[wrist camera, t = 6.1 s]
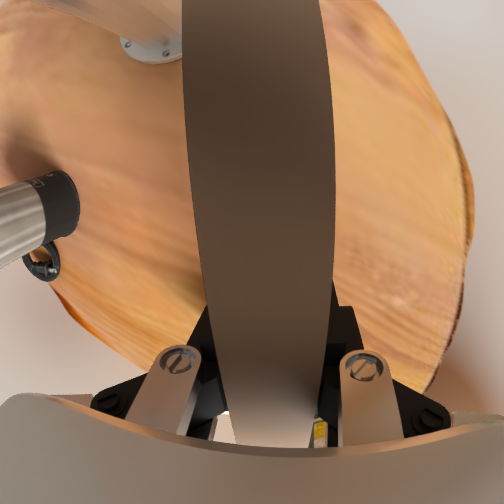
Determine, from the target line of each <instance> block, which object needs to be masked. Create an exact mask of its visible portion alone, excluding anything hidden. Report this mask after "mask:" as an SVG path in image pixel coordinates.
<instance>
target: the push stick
mask: <svg viewBox="0 0 504 504" xmlns="http://www.w3.org/2000/svg"><path fill="white" fill-rule="evenodd" d="M182 70H183V93H184V110H185V125H186V138H187V151H188V162H189V172H190V182H191V191H192V200H193V209H194V217H195V225H196V233H197V240H198V248H199V255H200V262H201V268H202V275H203V281H204V288H205V294H206V300H207V306H208V312H209V317H210V323H211V328H212V334H213V339H214V344H215V349H216V355H217V360H218V365H219V369H220V374H221V379H222V384H223V388H224V393H225V397H226V402H227V406H228V410H229V415H230V419H231V423H232V427H233V431H234V435H235V439H236V443H237V444H239V445H249V446H261V447H279V448H314V417H315V412H316V407H317V401H318V395H319V389H320V383H321V377H322V370H323V363H324V356H325V349H326V341H327V332H328V323H329V314H330V303H331V291H332V278H333V262H334V242H335V201H336V182H335V142H334V122H333V107H332V95H331V84H330V74H329V65H328V57H327V49H326V42H325V35H324V29H323V23H322V17H321V11H320V6H319V1H318V0H182Z"/></svg>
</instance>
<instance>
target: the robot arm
mask: <svg viewBox="0 0 504 504" xmlns="http://www.w3.org/2000/svg"><path fill="white" fill-rule="evenodd" d="M25 1H29V2H32V3H36V4H40V5H43V6H46V7H49V8H52V9H55V10H58V11H61V12H64V13H67V14H69V15H72V16H75V17H77V18H80V19H82V20H85V21H87V22H90V23H92V24H95V25H97V26H99V27H101V28H104V29H106V30H108V31H110V32H112V33H115V34H117V35H119V39H120V44H121V46H122V48H123V50H124V51H125V52H126V53H127V54H128V55H129V56H130V57H132V58H134V59H135V60H138V61H140V62H143V63H148V64H163V63H168V62H173V61H175V60H178V59H181V58H182V0H25ZM168 55H169V56H168ZM225 411H229V410H228V406H227V402H226V397H225V393H224V388H223V384H222V379H221V374H220V369H219V365H218V360H217V355H216V349H215V344H214V339H213V334H212V328H211V323H210V317H209V312H208V306H206V307H205V309H204V311H203V313H202V315H201V317H200V319H199V321H198V323H197V325H196V327H195V328H194V330H193V332H192V334H191V336H190V338H189V340H188V342H187V344H186V345H175V346H171V347H169V348H166V349H164V350H163V351H162V352H160V353H159V355H158V356H157V357H156V359H155V361H154V363H153V365H152V366H151V368H150V370H149V372H148V373H146V374H143V375H141V376H138V377H136V378H133V379H131V380H128V381H125V382H123V383H120V384H118V385H115V386H112V387H110V388H107V389H104V390H102V391H101V392H99V393H98V394H97V395H95V397H93V395H92V394H84V395H82V394H81V395H46V394H38V393H22V394H17V395H14V396H12V397H10V398H9V399H7V400H6V401H5V402H4V403H3V404H2V405H1V406H0V504H504V417H503V416H501V415H494V414H481V413H472V412H471V413H470V412H463V411H455V410H454V412H453V413H452V414H451V413H449V412H448V411H447V410H446V409H445V407H443V406H442V405H441V404H439V403H437V402H435V401H433V400H431V399H429V398H427V397H425V396H424V395H422V394H420V393H418V392H416V391H414V390H412V389H410V388H408V387H407V386H405V385H403V384H401V383H399V382H397V381H395V380H394V379H392V377H391V373H390V369H389V366H388V363H387V361H386V360H385V359H384V358H383V357H382V356H381V355H380V354H378V353H376V352H373V351H370V350H364V347H363V343H362V339H361V335H360V332H359V328H358V324H357V321H356V317H355V314H354V310H353V308H352V306H339V304H338V300H337V296H336V291H335V287H334V283H333V279H332V291H331V303H330V314H329V323H328V332H327V341H326V349H325V356H324V363H323V370H322V377H321V383H320V389H319V395H318V401H317V407H316V412H315V415H318V417H320V418H321V419H322V420H324V421H325V422H326V427H325V447H324V448H279V447H261V446H249V445H239V444H230V443H223V442H215V441H213V438H214V434H215V429H216V425H217V421H218V415H220V414H222V413H224V412H225Z"/></svg>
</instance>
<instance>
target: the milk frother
mask: <svg viewBox="0 0 504 504" xmlns="http://www.w3.org/2000/svg"><path fill="white" fill-rule="evenodd" d="M79 214H80V204H79V198H78V195H77V191H76V188H75V186H74V184H73V182H72V181H71V179H70V178H69V177H68V176H67V175H66V174H64V173H62V172H59V171H55V172H51V173H49V174H48V175H44V176H42V177H39V178H35V179H31V180H27V181H24V182H20V183H17V184H13V185H10V186H6V187H3V188H0V269H1V268H3V267H4V266H6V265H8V264H9V263H11V262H13V261H15V260H17V259H18V258H20V257H22V259H23V262H24V264H25V266H26V267H27V268H28V270H29V271H30V272H31V273H32V274H33V275H34V276H36V277H37V278H38V279H40V280H42V281H46V282H49V281H53V280H54V279H56V278H57V276H58V274H59V271H60V260H59V256H58V253H57V250H56V249H55V247H54V246H53V244H52V243H51V241H53V240H55V239H57V238H60V237H66V236H68V235H70V234H71V233H72V232H73V231H74V230H75V228H76V226H77V224H78V220H79ZM40 246H44V247H45V248H46V249H47V251H48V252H49V254H50V256H51V258H52V260H51V261H49V262H41V261H40V262H33V261H32V259H31V257H30V255H29V252H31V251H33V250H35V249H36V248H39V247H40Z"/></svg>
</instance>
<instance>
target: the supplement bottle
mask: <svg viewBox="0 0 504 504" xmlns="http://www.w3.org/2000/svg"><path fill="white" fill-rule="evenodd" d="M325 427H326V422H325V421H324V420H322V419H321V418H317V419H314V448H324V447H325Z"/></svg>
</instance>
